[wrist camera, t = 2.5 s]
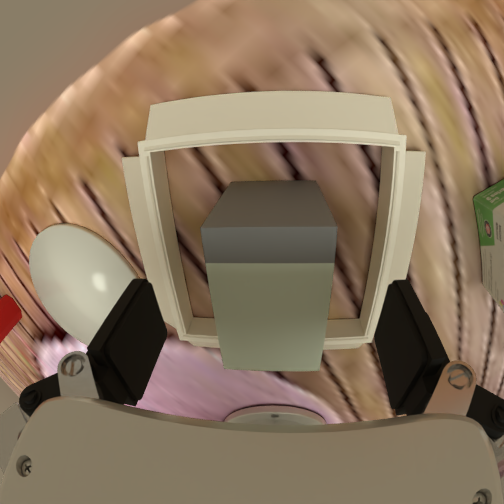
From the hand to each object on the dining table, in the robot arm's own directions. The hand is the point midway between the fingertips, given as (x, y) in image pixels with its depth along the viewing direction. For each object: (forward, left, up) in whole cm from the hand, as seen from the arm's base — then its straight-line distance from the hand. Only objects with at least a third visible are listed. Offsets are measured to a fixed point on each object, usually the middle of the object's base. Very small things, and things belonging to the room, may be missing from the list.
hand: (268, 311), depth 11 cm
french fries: (-10, +34, -8) cm, 36 cm away
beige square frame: (-1, 0, -8) cm, 8 cm away
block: (-1, 0, -8) cm, 8 cm away
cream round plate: (-6, +17, -8) cm, 20 cm away
